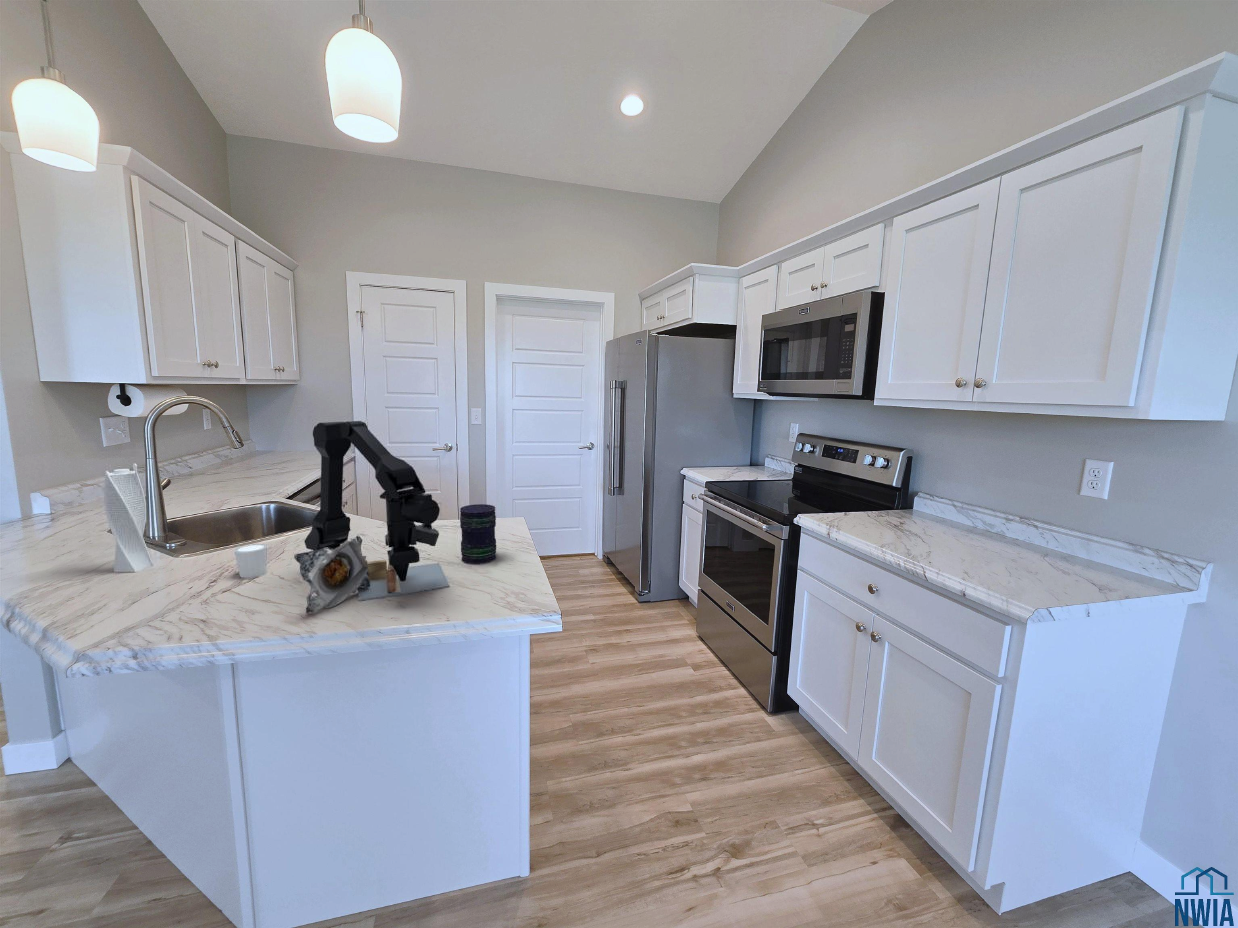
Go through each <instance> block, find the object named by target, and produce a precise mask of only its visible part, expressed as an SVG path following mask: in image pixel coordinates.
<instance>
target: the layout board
mask: <svg viewBox="0 0 1238 928" xmlns="http://www.w3.org/2000/svg"><path fill="white" fill-rule="evenodd" d="M361 587H363V586H361ZM395 587H396V591H394V592H387V578H386V579H379V580H372V581H370V587H368V588H366V587H364V589H360V590H357V594H358V602H363V601H371V600H375V599H382V598H389V597H394V596H401V595H402V596H403V595H407V594H413V593H414V592H415V593H420V591H421V592H425V591H424V590H427V591H432V589H434V590H439V589H438V588H440V589H444V588H445V589H446V588H451V585H450V584H449V581H448V579H447V577H446V575H445V572H444V571H443V568H442V566H441V565H440V563H439V562H433V563H428V564H427V563H425V564H419V565H411V566H409V567H408V571H407V576H406V581H402V582H401V581H400V579H399V577H398V575H397V576H396V585H395Z"/></svg>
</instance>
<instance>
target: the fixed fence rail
mask: <svg viewBox="0 0 1238 928" xmlns="http://www.w3.org/2000/svg"><path fill="white" fill-rule="evenodd" d="M365 564H366V565H367V566H368V573H369V579H370V581H372V580H379V579H386V578H387V574H386V571H387V570H388V565H387V564H388V563H387V559H381V560H373V561H368V560H366V559H365Z"/></svg>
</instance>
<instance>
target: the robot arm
mask: <svg viewBox="0 0 1238 928" xmlns="http://www.w3.org/2000/svg"><path fill="white" fill-rule="evenodd" d="M312 438H313V445H314V447H315V449H316V450H317V452H318V453H319V454H320V457H321V459H320V460H321V461H320V463H321V464H320V469H321V470H320V498H319V499H320V501H319V503H320V504H319V505H320V507H319V508H320V509H319V511H317V513H316V515H315V516H314V517H313V519H312V524H311V525H312V526H311V530H310V531H309V533H308V535H307V536H306V538H305V539H304V546H305V549H307V550H310V551H313V550H314V551H316V550H319V549H322V548H331V549H336V548H337V547H339V546H341V545H342V544H343V543H344V542H345V541H346V540H349V534H350V532H351V531H352V530H351V517H350V516H347V515H346V513H345V511H343V493H344V492H343V488H344V487H343V485H344V484H343V483H344V461H345V460H344V459H345V456H346V454H347V453H348V451H349V450H350V449H351V447H352V445H353V446H354V447H355V448H356V449H357V451H359V453H360V454H361V455H362V456H363V458H365V460H366V461H367V462H368V463H369V464H370V465H371V466H372V468H373V469H374V473H375V474H374V475H375V476H374V477H375V480H377V482H378V484H379V486H380V487H381V489H383V492H382V493H381V494H380V495H379V498H380V499H382V500H385V509H386V530H387V531H386V532H387V534H386V535H384V541H385V546H386V547H387V546H388V548H390V550H387V552H386V553H387V557H388V558H389V561H388V563H390V565H391V566H393V568H394V570H395V572H396V574H397V575H398V577H399V579H400V581H401V582H402V581H406V576H407V571H408V567H410V564H414V563H415V564H416V563H419V562H420V561H421V560H420V552H419V550H418V548H417V547H416V546H417V544H418V543H421V544H425V545H429V546H430V547H436V544H437V542H438V538H439V536H440V533H439V530H437V529H436V528H435V527H434V528H433V526H432V524H433V523H435V522H436V521H437V520H438V518H439V515H440V511H441V510H440V506H439V504H438V502H437V501H436V500H434V499H433V495H432V494H431V493H427V492H426V490H425V487H424V485H423V483H422V481H421V480H420V478H419V476H418V475H417V472H416V470H415V469H414V467H413V466H412V465H411V464H409V463H408V462H406V461H405V460H404V459H401V458H399V457H396V456H394V454H392V453H391V452H390V451H389V450H388V449H387V448H386V447H385V446H384V445H383V444H382V442H381V441H380V440H379V439H378V438H377V437H376V436H375V435H374V434H373V433H372V432H371V431H370V430H369V429H368V425H367V423H366V422H364V421H362V420H353V421H351V420H350V421H349V420H347V421H330V422H329V421H328V422H327V421H326V422H318V423H317V424H316V425H315V426H314V427H313V430H312ZM416 523H419V524H418V525H416ZM420 524H421V525H420Z"/></svg>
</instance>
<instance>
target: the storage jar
mask: <svg viewBox="0 0 1238 928" xmlns="http://www.w3.org/2000/svg"><path fill="white" fill-rule="evenodd" d="M459 511H460V512H459V514H460V515H459V516H460V517H459V523H460V524H459V527H460V529H461V541H460V552H461V562H462V563H463V564H467V565H484V564H485V565H486V564H489V563H492V562H494V561H495V560H496V559H497V555H496V553H497V539H496V526H497V525H496V524H497V521H496V520H497V515H496V507H495V505H492V504H484V503H483V504H482V503H481V504H480V503H478V504H470V505H469V504H468V505H464V506H461V507H460V508H459Z"/></svg>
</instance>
